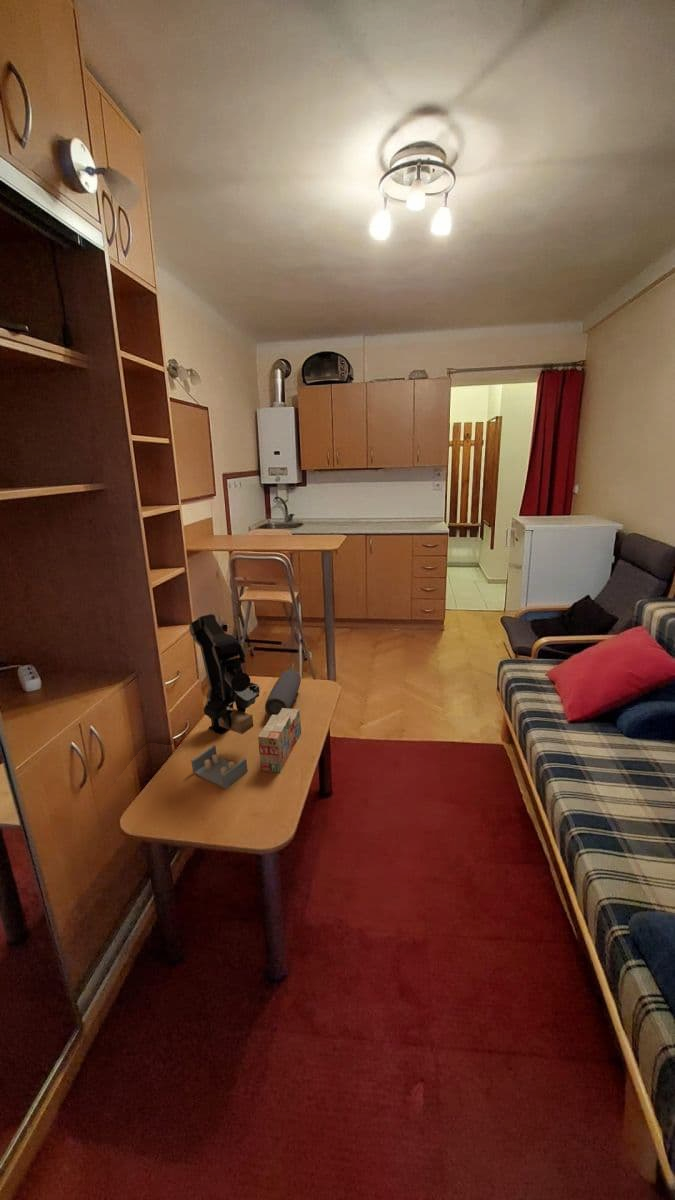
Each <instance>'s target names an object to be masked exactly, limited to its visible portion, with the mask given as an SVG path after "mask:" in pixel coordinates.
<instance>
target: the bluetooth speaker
mask: <svg viewBox="0 0 675 1200" xmlns="http://www.w3.org/2000/svg"><path fill="white" fill-rule="evenodd" d="M301 680H302V679H301V676H300V674H299V672H297V671H296V670H293V669H286V670H284V671H283V672H282V673H281V675H280V676H279V677H278V678H277V680H276V682H275V683H274V685H273V687H272V689H271V690H270V692H269V694H268V695H267V699H266V700H265V706H264V710H265V713H266V714H267V715H268V716H269V718H270V717H271V716H272V715H278V714H279V713H280V711H281V709H282V708H287V709H291V707H292V705H293V704H294V702H295V700H296V697H297V694H298V692H299V690H300V689H299V688H300V686H301V683H302V682H301Z"/></svg>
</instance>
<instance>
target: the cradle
mask: <svg viewBox="0 0 675 1200" xmlns="http://www.w3.org/2000/svg"><path fill="white" fill-rule="evenodd" d="M190 761H191V766H192V767H191V768H192V773H193V774H194V775H197V776H199V777H200V778H203V779H205V780H207V781H208V782H211V783H213V784H215V785H217V786H219V787H221V788H223V789H225V790H227V789H228V788H229V787H230V786H231V785H233V784H234V783H235V782H236V781H238V780H239V779H240V778H241V777H243V776H244V775H246V773H247V772H248V771H249V770H248V763H247V758H243V759H241V760H240V761H239V762H237V763H235V762H234V761H233V760H231V761H229V760H226V759H224V758H222V757H220V756H218V754H217V747H216V745H214V744H213V745H212V746H210V747H209V748H208V749H206V750H205V751H203V752H202V753H200V754H198V755H197V756H196V757H195V758H193V759H191V760H190Z"/></svg>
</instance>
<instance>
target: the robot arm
mask: <svg viewBox="0 0 675 1200" xmlns="http://www.w3.org/2000/svg"><path fill="white" fill-rule="evenodd" d="M189 633H190V636H192V638H193V641H194V642H195V643H196V644H197V645H198V646H199V647H200V652H201V656H202V661H203V665H204V670H205V675H206V679H207V683H208V690H207V694H206V700H207V701H206V703H205V705H204V707H203V713H204V715H205V716H207V717H208V718H209V719H210V720H211V721H210V722H211V726H209V727H208V730H209V731H212V732H215V733H218V734H220V735H221V734H223V733H225V732H227V731H228V730H229V729H226V728H224V727H221V726H219V721H218V719H219V718H222V719H223V721H224V722H225V724H226V725H227V726H228V727H229V728H231V716H230V714H231V713H232V712H233V711H232V710H229V707H230V708H232V709H234V703H235V707H236V710H238V711H241V712H244V713H246V710H247V709H248V708H249V707H251V706H252V705H254V704H255V703H256V700H257V698H258V697H260V686H259V685H258V684H257V683H254V682H251V677H250V675H249V674H248V673H246V672H245V670H244V669H243V668H242V666H241V664H245V663H246V659H245V657H246V654H245V652H244V649H243V647H242V644H241V643H240V641H239V640H237V639H236V637H235V636H233V634H228V633H226V631H224V629H223V628H222V626H221V625H220V623H219V622H218V621H217V618H216V615H215V614H212V613H211V614H205V615H200V616H199V617H197V619H196V620H194V621H192V622H191V623H190V624H189ZM235 657H236V658H235Z"/></svg>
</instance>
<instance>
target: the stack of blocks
mask: <svg viewBox="0 0 675 1200" xmlns="http://www.w3.org/2000/svg"><path fill="white" fill-rule="evenodd" d="M301 723H302V722H301V715H300V709H299V708H297V709H296V708H290V709H287V708H282V709H281V711H280V713H279V714H278V715H272V716H271V717H270V716H269V719H268V721H267V723H266V725H264V726H263V728H262V730H261V731H260V733H259V734H258V735H257V741H258V753H259V758H260V770H261V771H265V772H272V773H273V772H275V773H282V770H283V768H284V767H285V765H286V764H287V761H288V760H289V758H290V756H291V754H292V751H293V749H294V747H295V745H296V744H297V742H298V740H299V738H300V736H301V734H302V724H301Z"/></svg>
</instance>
